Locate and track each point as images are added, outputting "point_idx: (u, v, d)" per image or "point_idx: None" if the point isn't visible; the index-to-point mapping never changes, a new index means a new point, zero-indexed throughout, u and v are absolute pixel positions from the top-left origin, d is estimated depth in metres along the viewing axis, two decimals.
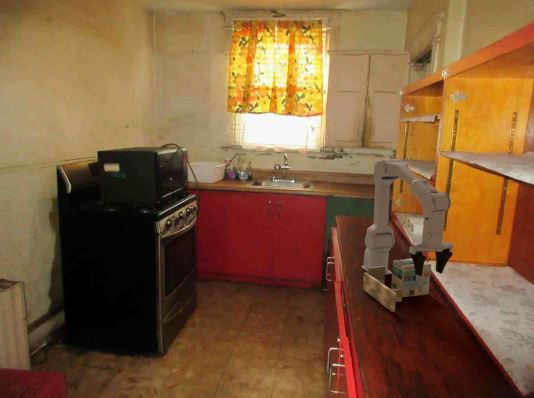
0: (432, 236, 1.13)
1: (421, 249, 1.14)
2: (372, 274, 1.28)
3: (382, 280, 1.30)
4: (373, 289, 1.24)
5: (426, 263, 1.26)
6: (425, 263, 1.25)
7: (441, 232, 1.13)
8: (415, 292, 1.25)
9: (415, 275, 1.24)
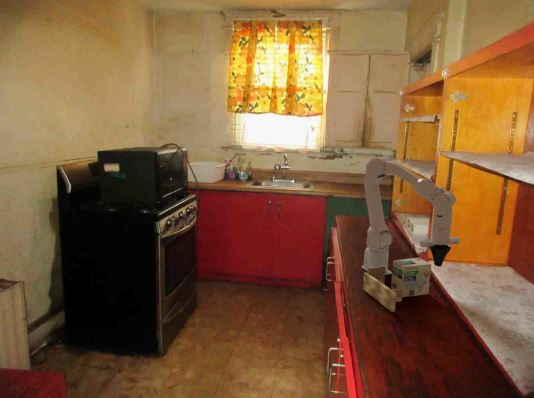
0: (441, 231, 1.25)
1: (431, 243, 1.25)
2: (372, 274, 1.28)
3: (382, 280, 1.30)
4: (373, 289, 1.24)
5: (426, 263, 1.26)
6: (425, 263, 1.25)
7: (450, 227, 1.26)
8: (415, 291, 1.25)
9: (415, 275, 1.24)
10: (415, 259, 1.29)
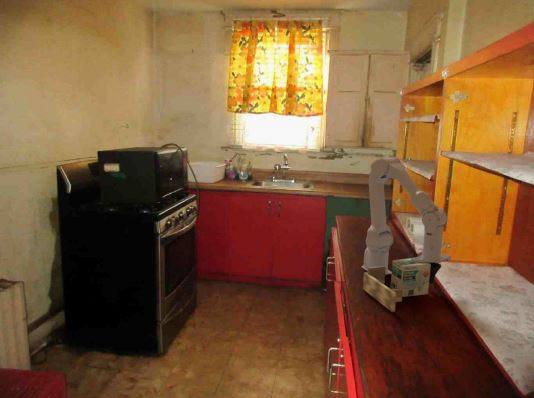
0: (432, 249, 1.25)
1: (422, 261, 1.26)
2: (372, 274, 1.28)
3: (382, 280, 1.30)
4: (373, 289, 1.24)
5: (425, 263, 1.25)
6: (424, 263, 1.25)
7: (441, 245, 1.26)
8: (414, 291, 1.25)
9: (414, 275, 1.24)
10: None
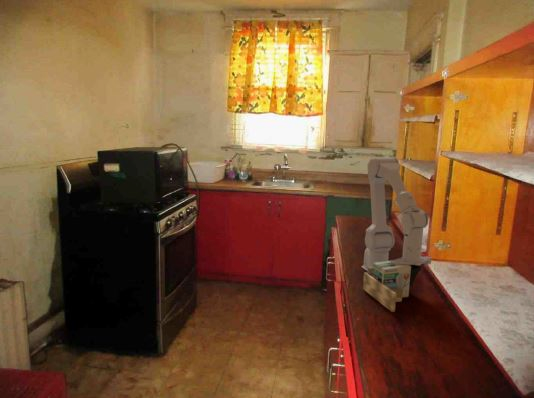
0: (411, 251, 1.23)
1: (401, 263, 1.23)
2: None
3: None
4: (373, 289, 1.24)
5: (406, 265, 1.23)
6: (405, 265, 1.23)
7: (419, 247, 1.23)
8: None
9: (395, 277, 1.21)
10: None
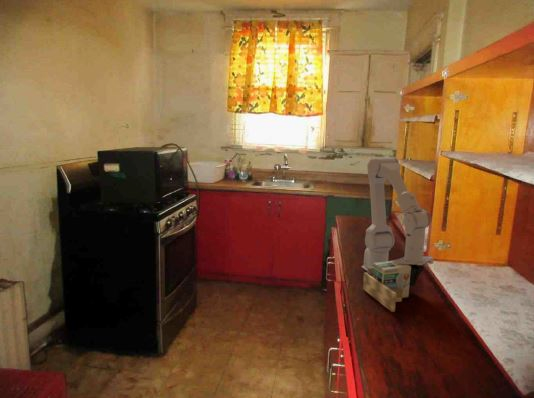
0: (413, 251, 1.23)
1: (403, 263, 1.24)
2: None
3: None
4: (373, 289, 1.24)
5: (406, 265, 1.23)
6: (405, 265, 1.23)
7: (422, 247, 1.23)
8: None
9: (395, 278, 1.21)
10: None
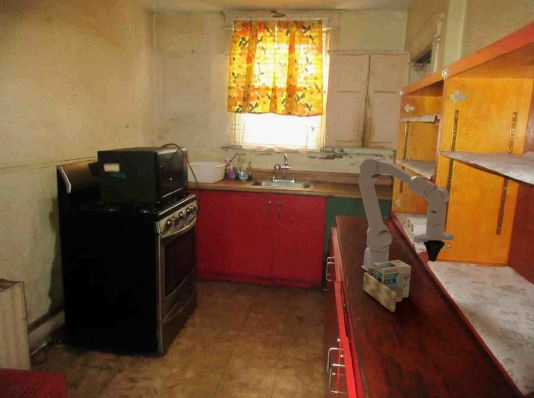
0: (435, 227, 1.26)
1: (425, 238, 1.27)
2: None
3: None
4: (373, 289, 1.24)
5: (406, 265, 1.23)
6: (405, 265, 1.23)
7: (444, 222, 1.27)
8: None
9: (395, 278, 1.21)
10: (395, 261, 1.27)
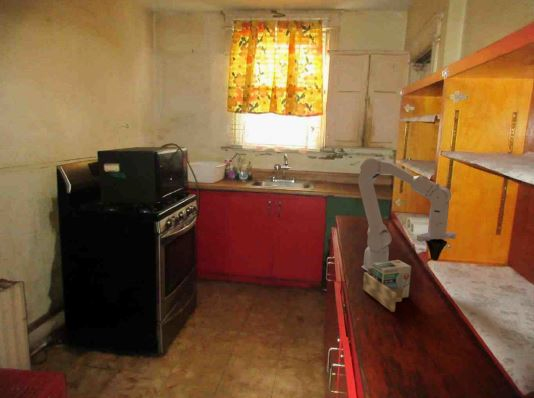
0: (437, 226, 1.28)
1: (427, 237, 1.28)
2: None
3: None
4: (373, 289, 1.24)
5: (406, 265, 1.23)
6: (405, 265, 1.23)
7: None
8: None
9: (395, 278, 1.21)
10: (395, 261, 1.27)
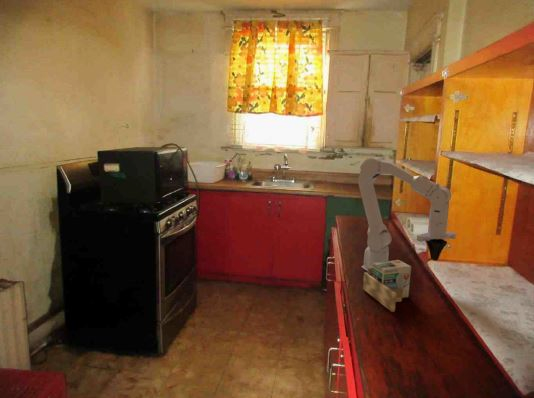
0: (437, 226, 1.28)
1: (427, 237, 1.28)
2: None
3: None
4: (373, 289, 1.24)
5: (406, 265, 1.23)
6: (405, 265, 1.23)
7: None
8: None
9: (395, 278, 1.21)
10: (395, 261, 1.27)
